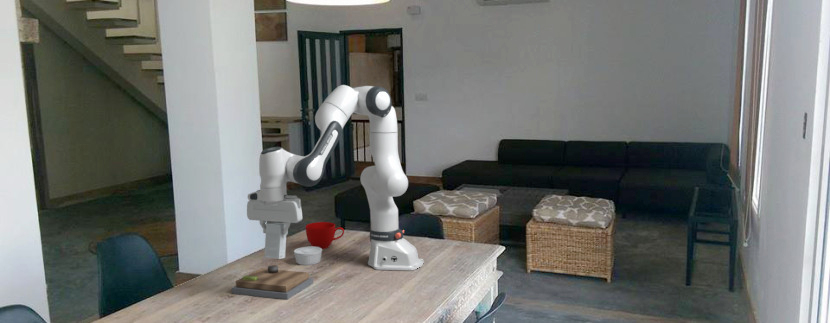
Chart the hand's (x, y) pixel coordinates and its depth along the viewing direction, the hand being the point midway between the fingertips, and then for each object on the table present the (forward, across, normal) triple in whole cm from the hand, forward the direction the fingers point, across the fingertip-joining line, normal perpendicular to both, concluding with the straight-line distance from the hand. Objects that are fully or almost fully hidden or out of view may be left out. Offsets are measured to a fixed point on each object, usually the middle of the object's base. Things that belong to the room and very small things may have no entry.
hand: (275, 233), depth 218 cm
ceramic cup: (+21, +11, -58) cm, 63 cm away
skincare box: (+9, 0, +1) cm, 9 cm away
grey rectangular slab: (+20, +3, -2) cm, 21 cm away
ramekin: (+21, +7, -35) cm, 41 cm away
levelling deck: (+18, +3, -2) cm, 19 cm away
